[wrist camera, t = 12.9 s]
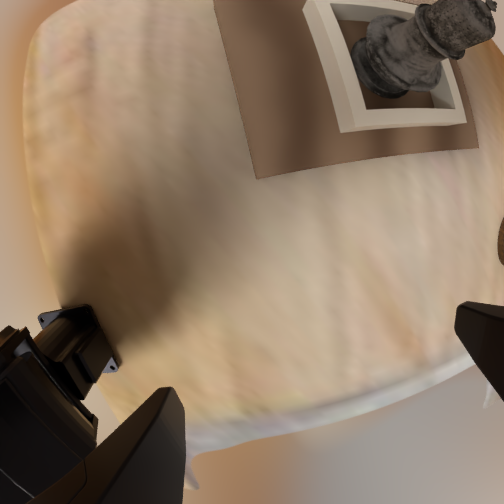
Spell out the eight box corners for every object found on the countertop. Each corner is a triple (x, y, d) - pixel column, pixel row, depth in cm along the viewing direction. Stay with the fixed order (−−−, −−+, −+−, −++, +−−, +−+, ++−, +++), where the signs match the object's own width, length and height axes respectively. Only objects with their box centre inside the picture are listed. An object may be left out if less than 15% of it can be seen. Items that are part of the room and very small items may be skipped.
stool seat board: (256, 179, 18) (261, 179, 15) (214, 8, 15) (211, -19, 11) (470, 148, 19) (498, 147, 15) (428, 13, 15) (448, 0, 11)
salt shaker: (368, 110, 17) (501, 62, 5) (332, 39, 15) (419, -60, 3) (425, 95, 16) (545, 63, 5) (392, 30, 15) (488, -35, 3)
